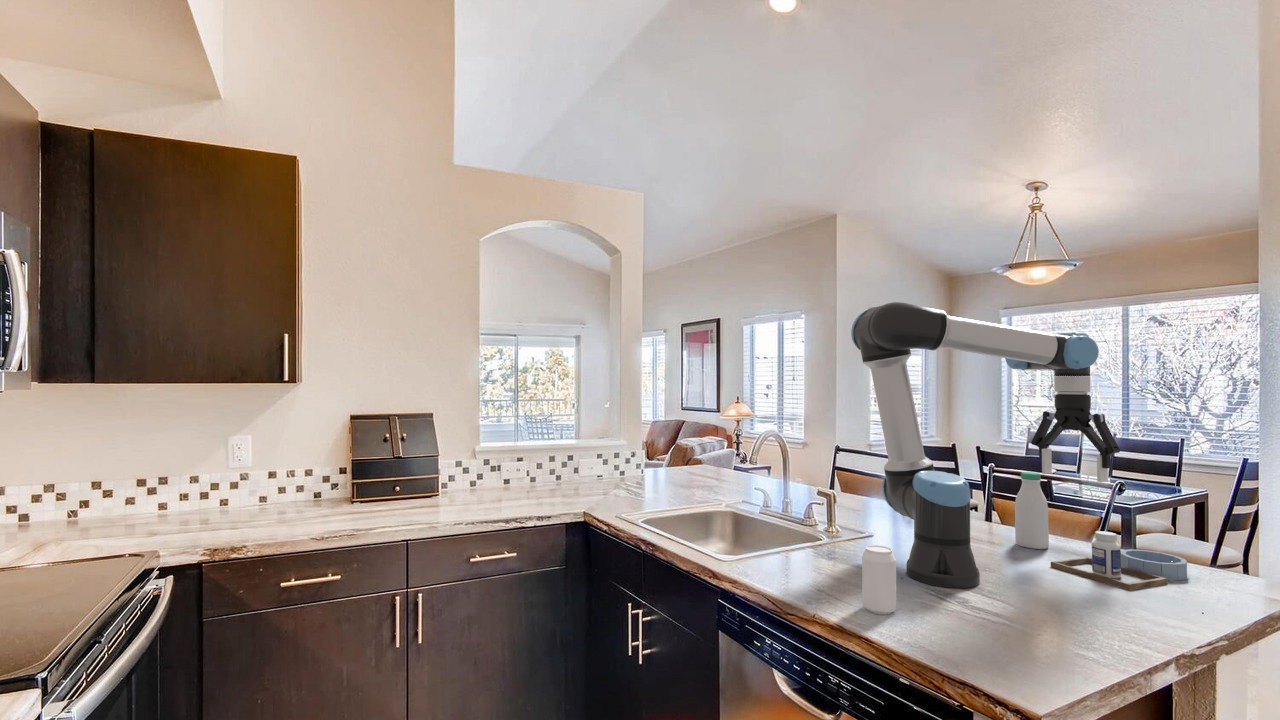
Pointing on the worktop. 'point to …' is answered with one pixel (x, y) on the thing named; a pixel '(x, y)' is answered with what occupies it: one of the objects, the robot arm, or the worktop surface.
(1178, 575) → the bowl
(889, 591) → the beverage can
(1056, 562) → the empty rectangular wooden frame
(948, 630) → the worktop surface
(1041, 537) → the milk bottle
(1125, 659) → the worktop surface
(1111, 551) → the pill bottle
